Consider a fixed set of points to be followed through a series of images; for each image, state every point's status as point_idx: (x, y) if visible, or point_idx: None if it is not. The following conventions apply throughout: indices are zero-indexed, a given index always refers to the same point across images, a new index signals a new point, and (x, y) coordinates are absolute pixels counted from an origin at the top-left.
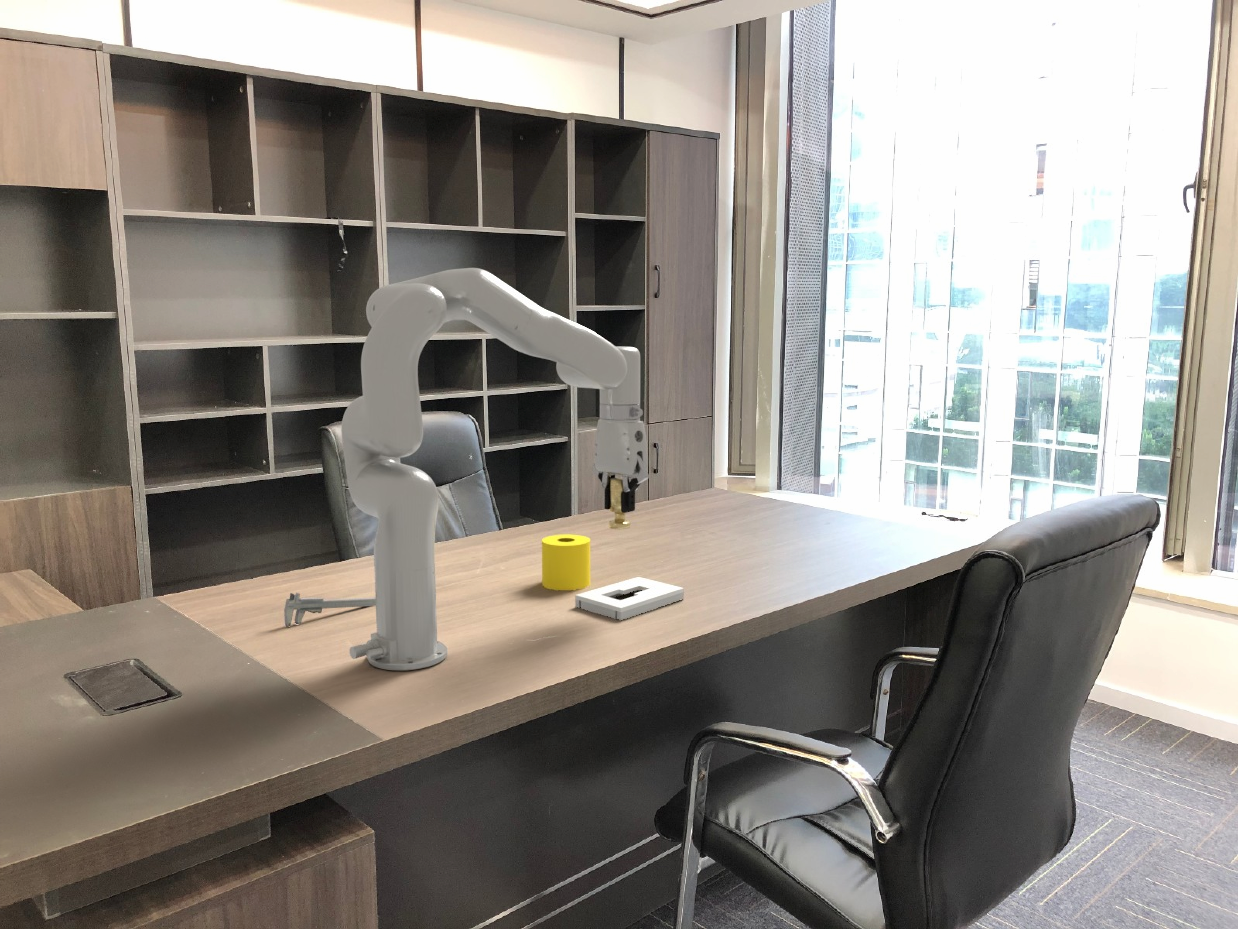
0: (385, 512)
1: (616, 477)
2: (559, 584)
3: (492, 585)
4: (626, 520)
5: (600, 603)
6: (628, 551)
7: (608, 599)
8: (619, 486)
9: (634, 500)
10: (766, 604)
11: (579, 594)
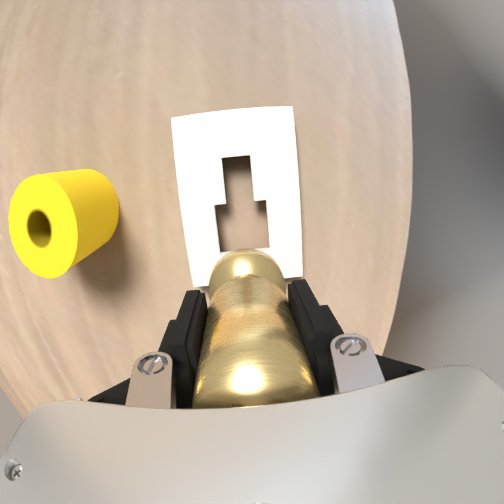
0: None
1: (171, 398)
2: (103, 244)
3: (52, 296)
4: (245, 258)
5: None
6: (34, 36)
7: None
8: None
9: (335, 320)
10: (383, 52)
11: (195, 280)
